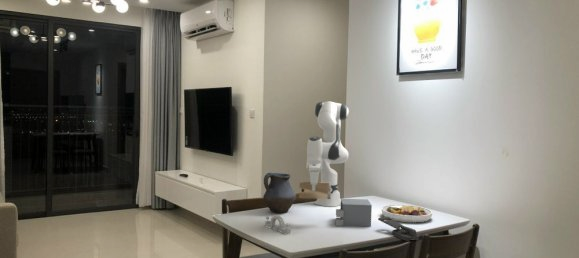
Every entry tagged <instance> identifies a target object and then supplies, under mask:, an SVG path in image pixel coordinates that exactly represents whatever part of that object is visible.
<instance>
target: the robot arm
mask: <svg viewBox="0 0 579 258" xmlns="http://www.w3.org/2000/svg"><path fill="white" fill-rule="evenodd" d="M349 114H350V112H349V106H348V105H347V104H346V103H339V102H333V101H324V102H323V101H319V102H317V103H316V104H315V107H314V115H315V117H317V120H316V121H317V124H318V126H319V128H320V129H322V130H323V134H322V135H323V136H322V137H319V136H311V137H308V140H307V147H306V155H307V156H306V166H305V167H306V169H307V170H308V173H309V182H310V183H311V185H312V191H315V186H316V185H317V182H319V174H320V182H326V183H331V196H330V199H316V200H315V201H314V205H318V206H322V207H338V206H341V195H340V191H339V190H338V189H339V184H338V172H337V171H336V170H335V169H333V168H332V167H331V166H330V165H331V164H334V165H335V164H337V165H338V164H343V163H346V162H347V161H348V160H349V156H350V154H349V151H348V150H347V148H345V147H344V146H343V144H342V141H341V127H342V126H341V125H342V124H341V123H342V121H344V120H346V119H347V118H348V116H349ZM322 138H323V139H324V141H325V142H323V139H322Z"/></svg>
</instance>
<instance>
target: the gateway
mask: <svg viewBox="0 0 579 258" xmlns="http://www.w3.org/2000/svg"><path fill="white" fill-rule="evenodd" d="M265 219H266V220H265V221H264V227H266V226H267V228H269V227H270V228H269V229H271V228H274V230H276V229H277V230H276V231H278V230H279V231H281V232H280V233H282V232H283V233H282V234H285V233H286V234H285V235H291V234H290V233H292V229H291V228H290V223H288V222H287V223H286V222H285V220H284V218H283V216H281V215H274V216H272V217H271V219H270V216H265ZM269 219H270V220H269ZM277 221H278V223H279V224H278V225H276V222H277ZM279 231H278V232H279Z"/></svg>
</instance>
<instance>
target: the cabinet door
mask: <svg viewBox="0 0 579 258" xmlns="http://www.w3.org/2000/svg"><path fill="white" fill-rule="evenodd" d="M298 186H299V189H298V192H299V195H298V196H299V197H298V198H299V199H315V200H317V199H330V196H331V183H326V182H321V181H318V182H317V185H316V186H315V191H312V185H311V183H310V181H299V185H298Z"/></svg>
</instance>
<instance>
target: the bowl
mask: <svg viewBox="0 0 579 258" xmlns="http://www.w3.org/2000/svg"><path fill="white" fill-rule="evenodd" d="M381 214H382V215H383V217H390V218H392V219H393V220H395V221H396V222H398V223H399V222H400V223H406V222H413V223H414V222H415V223H414V224H417V223H416V222H421V223H425V222H428V221H430V220H431V218H432V216H433V211H432V210H430V209H428V208H425V207H422V206H419V205H411V204H410V205H407V204H390V205H384V206H383V207H381ZM424 221H425V222H424ZM413 223H412V224H413Z"/></svg>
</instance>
